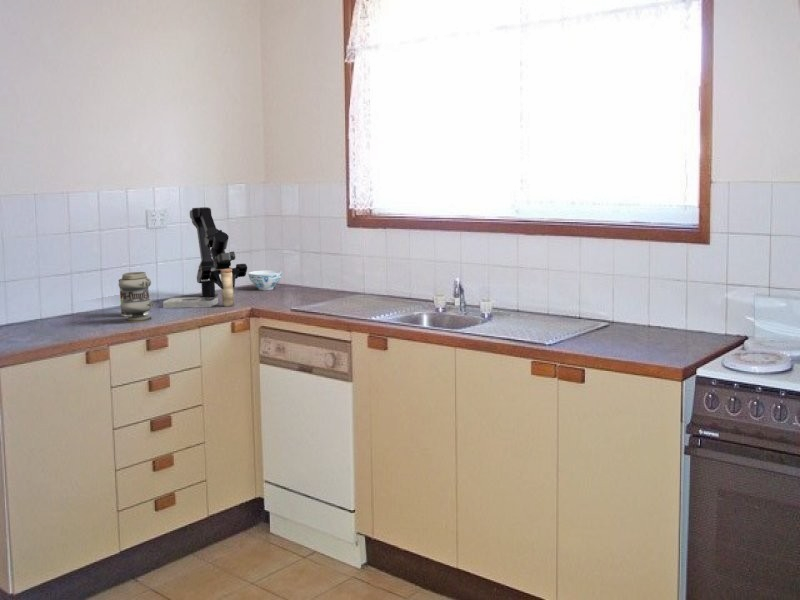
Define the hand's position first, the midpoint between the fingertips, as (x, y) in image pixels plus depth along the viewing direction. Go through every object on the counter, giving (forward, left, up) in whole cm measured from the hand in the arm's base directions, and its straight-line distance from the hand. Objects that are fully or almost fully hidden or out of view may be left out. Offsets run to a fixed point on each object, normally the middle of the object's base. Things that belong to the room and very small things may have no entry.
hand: (228, 287), depth 384 cm
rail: (-4, -17, -8) cm, 19 cm away
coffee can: (+16, -33, -8) cm, 38 cm away
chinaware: (-49, +4, -8) cm, 49 cm away
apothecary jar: (+29, -27, -8) cm, 41 cm away
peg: (-1, -1, -8) cm, 8 cm away
